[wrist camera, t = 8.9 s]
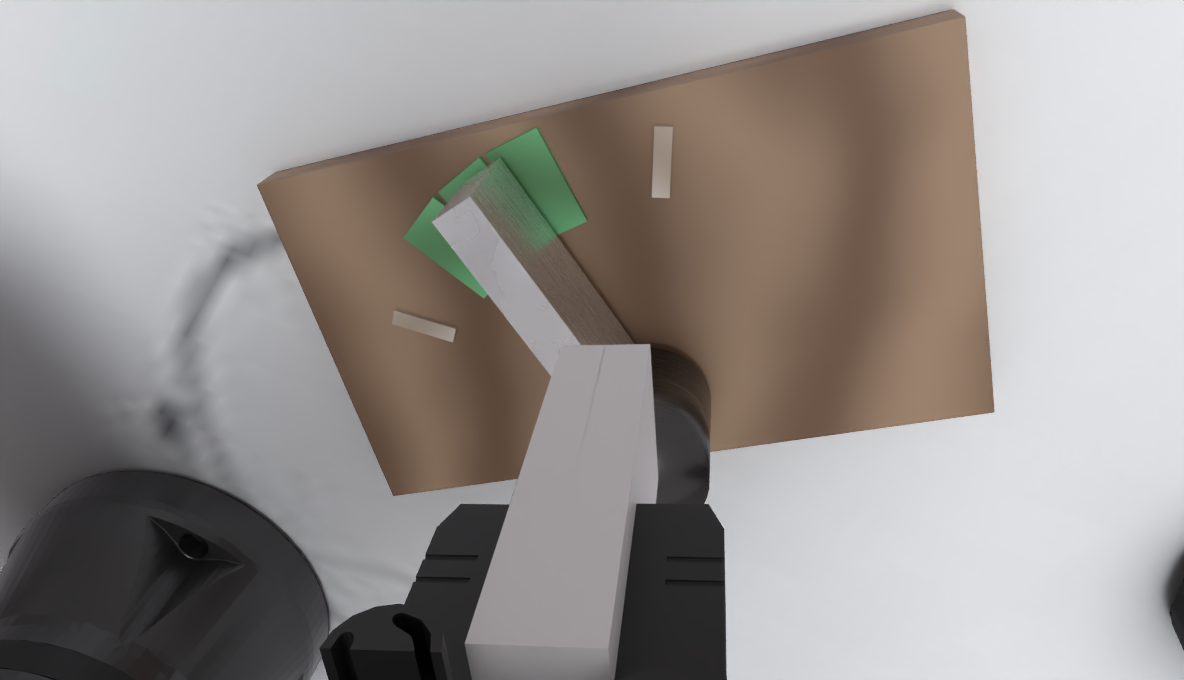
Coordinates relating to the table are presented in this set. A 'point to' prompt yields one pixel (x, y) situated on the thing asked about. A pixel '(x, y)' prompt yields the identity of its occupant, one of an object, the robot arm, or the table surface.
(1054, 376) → the table surface
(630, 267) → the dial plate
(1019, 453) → the table surface
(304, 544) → the table surface
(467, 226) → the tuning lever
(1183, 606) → the portable speaker
